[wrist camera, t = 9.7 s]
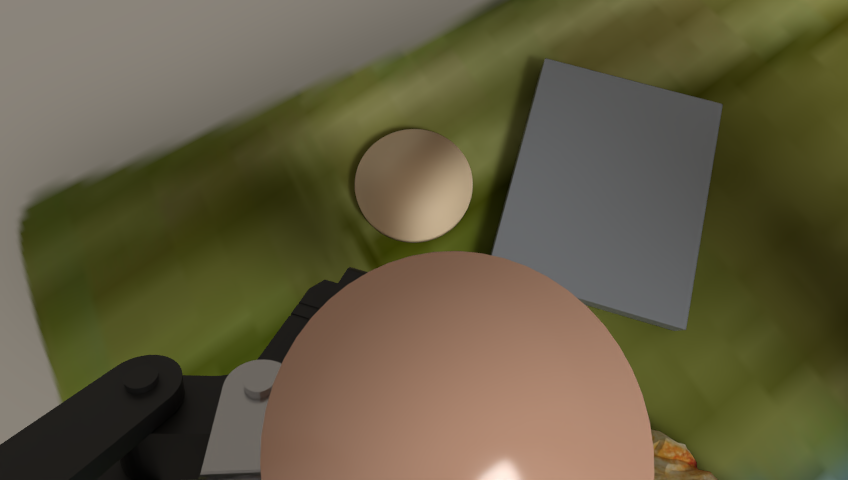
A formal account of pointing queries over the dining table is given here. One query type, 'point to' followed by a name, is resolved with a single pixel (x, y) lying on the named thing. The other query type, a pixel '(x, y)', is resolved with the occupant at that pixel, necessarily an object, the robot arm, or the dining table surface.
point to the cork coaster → (413, 185)
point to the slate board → (612, 192)
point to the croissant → (675, 460)
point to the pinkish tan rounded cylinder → (455, 382)
